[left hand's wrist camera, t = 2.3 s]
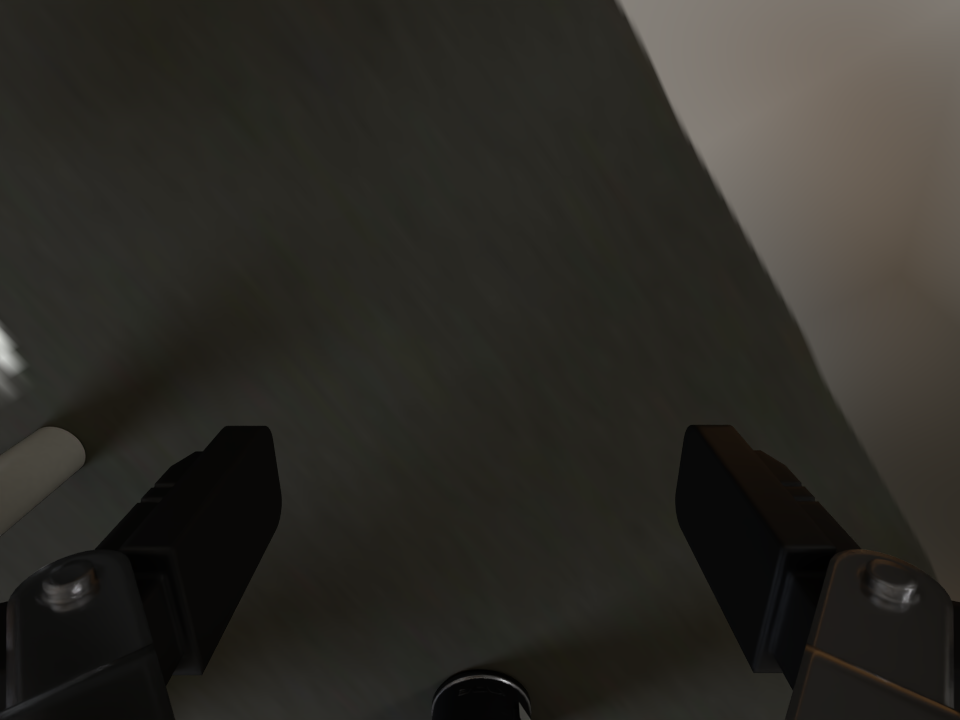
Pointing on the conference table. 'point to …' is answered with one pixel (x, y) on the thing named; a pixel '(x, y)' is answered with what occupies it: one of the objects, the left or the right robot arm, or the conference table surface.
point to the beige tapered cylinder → (36, 471)
